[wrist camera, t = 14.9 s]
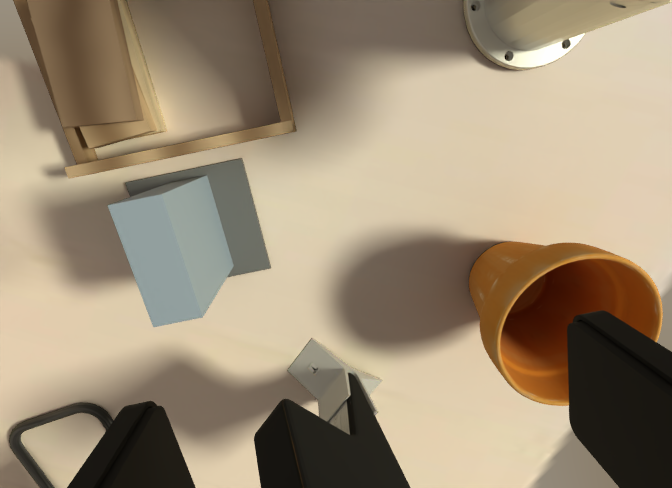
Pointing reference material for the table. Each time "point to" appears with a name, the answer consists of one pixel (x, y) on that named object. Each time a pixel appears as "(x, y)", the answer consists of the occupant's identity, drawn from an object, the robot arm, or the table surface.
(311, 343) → the award
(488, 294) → the flower pot
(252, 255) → the mat
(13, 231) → the table surface
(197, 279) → the rectangular block
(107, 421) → the chair
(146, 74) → the offcut stack
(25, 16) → the wooden frame
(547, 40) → the robot arm
